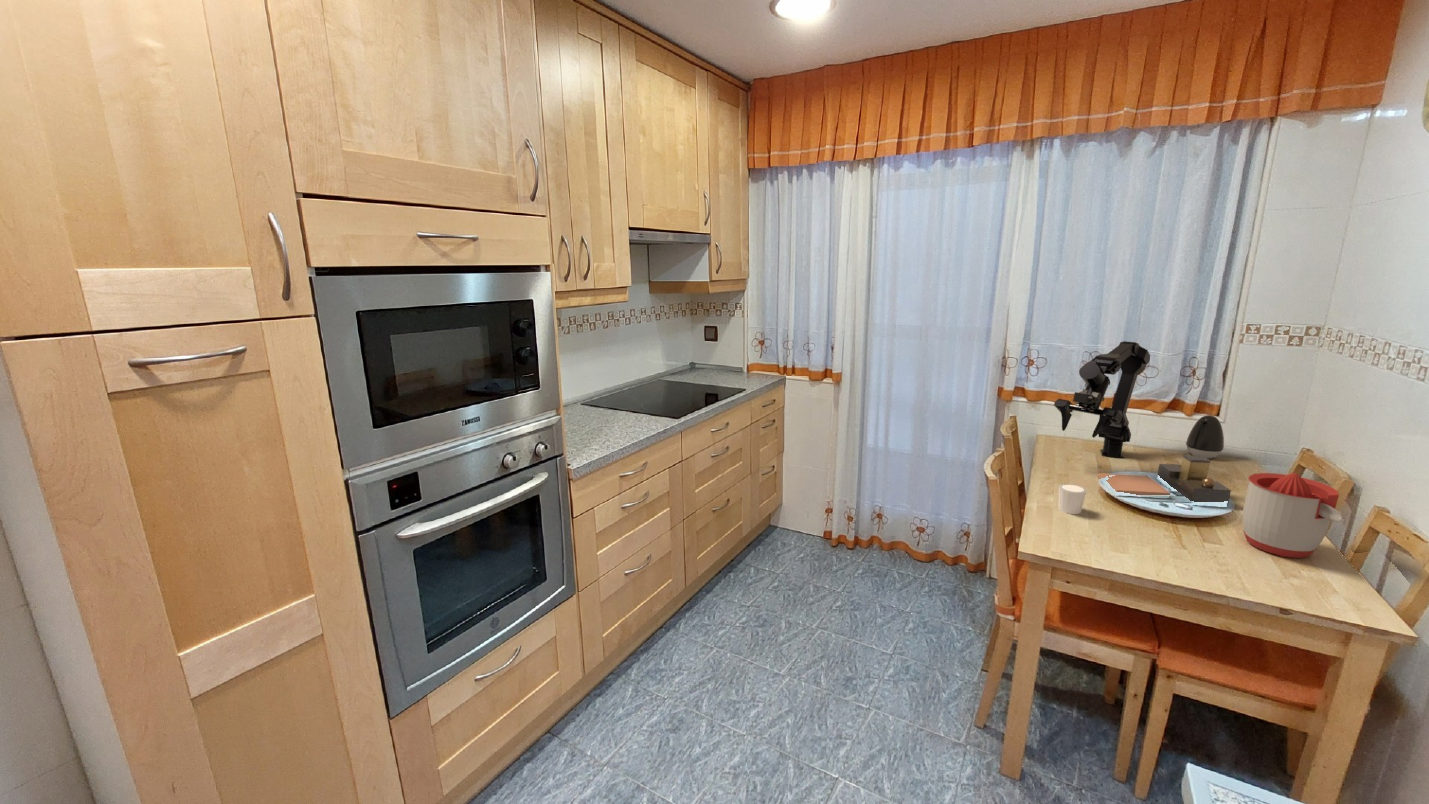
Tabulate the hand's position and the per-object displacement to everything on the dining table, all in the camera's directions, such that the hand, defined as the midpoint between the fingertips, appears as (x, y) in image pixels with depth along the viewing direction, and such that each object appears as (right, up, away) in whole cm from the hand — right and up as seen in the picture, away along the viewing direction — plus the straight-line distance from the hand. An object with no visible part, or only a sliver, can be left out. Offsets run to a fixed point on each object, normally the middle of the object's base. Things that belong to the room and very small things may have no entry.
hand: (1077, 433), depth 186 cm
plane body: (+27, -17, -13) cm, 34 cm away
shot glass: (-16, -21, -21) cm, 34 cm away
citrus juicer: (+22, -26, -45) cm, 57 cm away
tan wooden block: (+26, -14, -13) cm, 33 cm away
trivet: (+12, -17, -8) cm, 22 cm away
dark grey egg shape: (+55, -9, +16) cm, 58 cm away
